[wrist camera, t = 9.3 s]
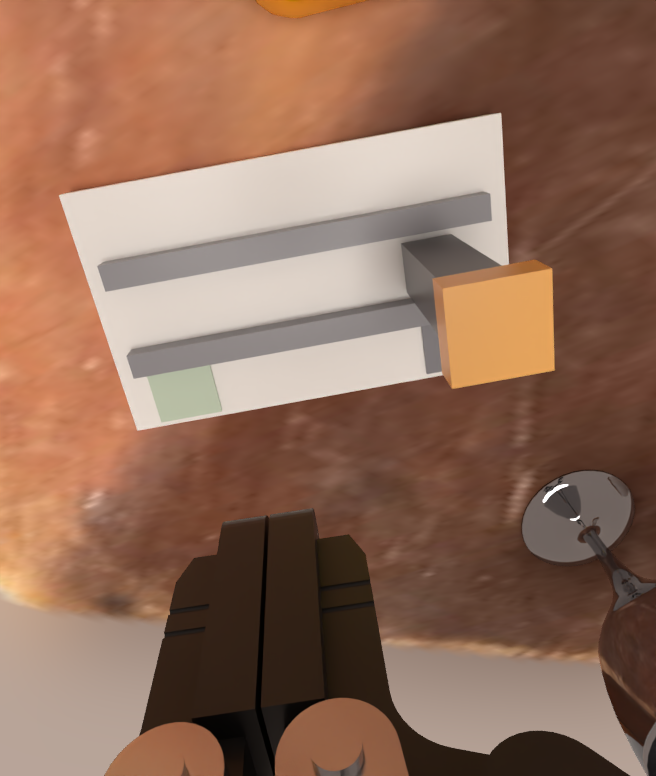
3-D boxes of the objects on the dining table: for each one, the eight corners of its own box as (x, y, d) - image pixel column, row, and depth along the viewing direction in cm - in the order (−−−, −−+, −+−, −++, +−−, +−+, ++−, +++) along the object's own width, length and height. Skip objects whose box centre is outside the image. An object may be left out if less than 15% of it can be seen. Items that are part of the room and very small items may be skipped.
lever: (389, 234, 28) (442, 288, 18) (460, 221, 28) (552, 268, 18) (397, 304, 30) (452, 388, 20) (466, 291, 30) (554, 370, 20)
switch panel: (70, 192, 28) (50, 197, 26) (490, 113, 28) (508, 112, 26) (143, 418, 33) (133, 439, 31) (504, 352, 33) (520, 369, 31)
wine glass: (563, 444, 35) (738, 644, 22) (667, 492, 37) (891, 704, 23) (490, 546, 38) (606, 783, 24) (591, 586, 40) (753, 827, 26)
